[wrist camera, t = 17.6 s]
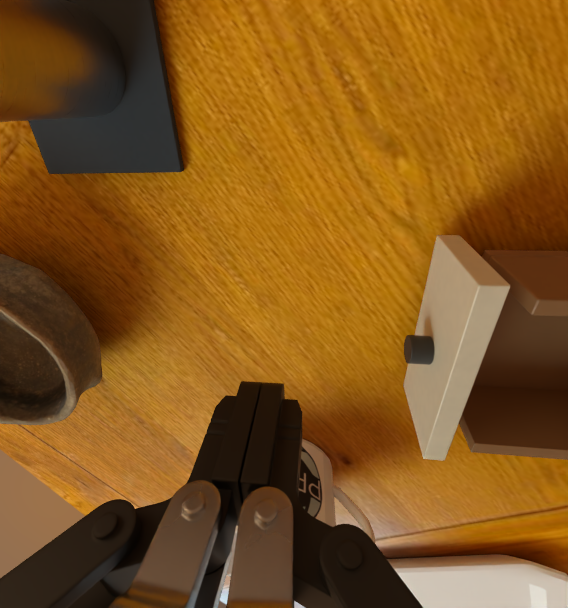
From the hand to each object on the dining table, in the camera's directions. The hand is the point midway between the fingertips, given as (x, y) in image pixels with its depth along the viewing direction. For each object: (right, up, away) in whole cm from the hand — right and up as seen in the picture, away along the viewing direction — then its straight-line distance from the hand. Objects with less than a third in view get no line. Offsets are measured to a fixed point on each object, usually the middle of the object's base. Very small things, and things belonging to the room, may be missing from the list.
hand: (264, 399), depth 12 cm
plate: (+23, -34, +31) cm, 51 cm away
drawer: (+15, +2, +8) cm, 17 cm away
